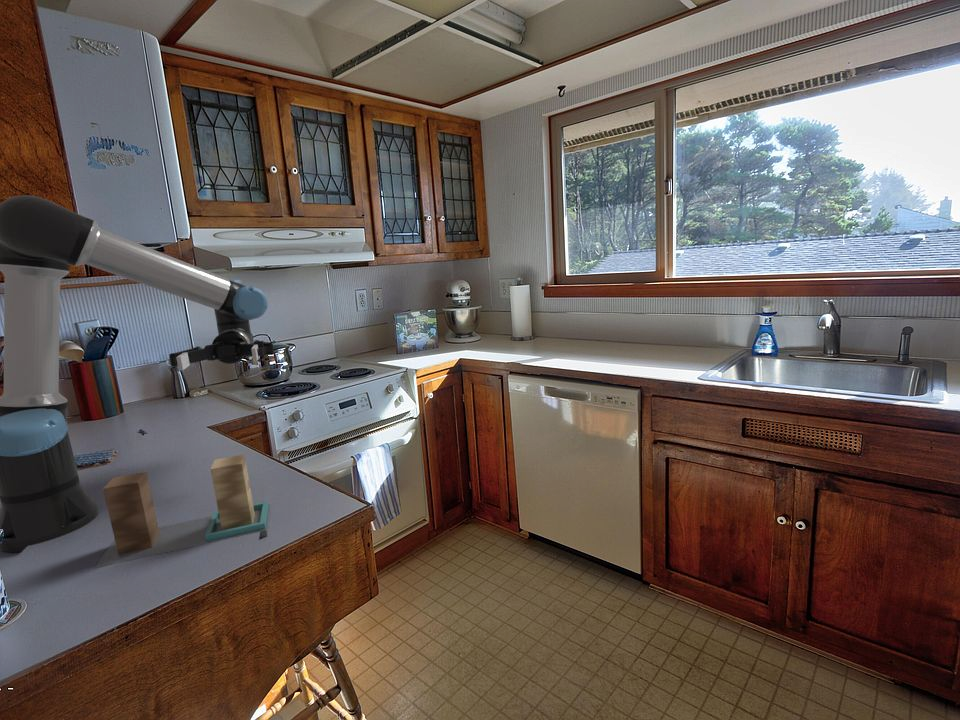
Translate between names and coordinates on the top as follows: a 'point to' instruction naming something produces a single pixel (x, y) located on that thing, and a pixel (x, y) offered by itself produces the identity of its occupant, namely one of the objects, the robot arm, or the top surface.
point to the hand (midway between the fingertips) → (217, 359)
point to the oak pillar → (232, 492)
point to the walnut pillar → (131, 512)
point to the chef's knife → (142, 431)
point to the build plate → (192, 535)
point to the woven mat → (94, 459)
